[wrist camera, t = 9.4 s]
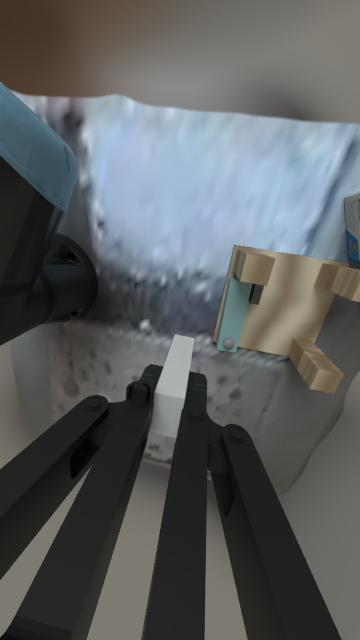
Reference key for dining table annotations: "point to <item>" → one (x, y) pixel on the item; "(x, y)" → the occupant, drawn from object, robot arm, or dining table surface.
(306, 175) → the dining table surface
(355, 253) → the ink box
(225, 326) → the hinged leg
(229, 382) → the dining table surface
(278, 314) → the stool seat
